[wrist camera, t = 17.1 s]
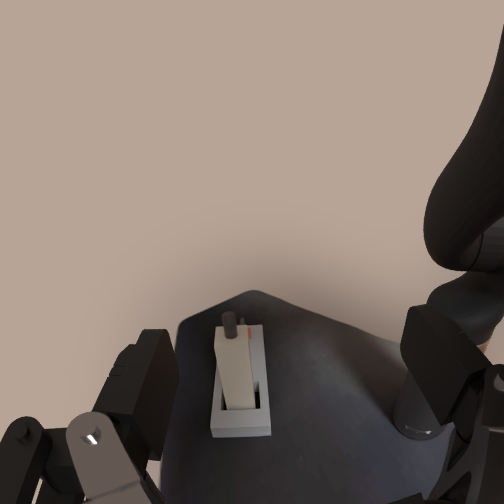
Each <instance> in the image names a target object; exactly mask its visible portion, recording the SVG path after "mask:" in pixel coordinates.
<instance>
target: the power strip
mask: <svg viewBox="0 0 504 504" xmlns="http://www.w3.org/2000/svg"><path fill="white" fill-rule="evenodd" d="M239 325H245V318H243V317H242V318H240V324H239ZM247 327H248V336H249V346H250V355H251V365H252V374H253V383H254V392H260V408H261V409H246V410H224V393H223V388H222V383H221V379H220V374H219V369H218V364H217V366H216V375H215V385H214V394H213V404H212V414H211V424H210V429H211V432H212V435H213V437H250V436H266V435H271V423H270V411H269V399H268V387H267V376H266V364H265V352H264V340H263V329H262V325H251V326H247Z"/></svg>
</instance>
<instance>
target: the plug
mask: <svg viewBox="0 0 504 504" xmlns="http://www.w3.org/2000/svg"><path fill="white" fill-rule="evenodd" d="M222 321H223V326H222V327H216V333H215V342H214V349H215V354H216V359H217V364H218V369H219V374H220V379H221V383H222V388H223V393H224V397H225V402H226V406H227V410H246V409H256V405H255V392H254V383H253V374H252V365H251V355H250V346H249V336H248V327H247V325H237V324H236V316H235V313H234V312H232V311H227V312H224V313H223V314H222Z"/></svg>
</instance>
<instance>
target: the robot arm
mask: <svg viewBox="0 0 504 504" xmlns="http://www.w3.org/2000/svg"><path fill="white" fill-rule="evenodd" d="M423 231H424V240H425V244H426V248H427V250H428V253H429V255H430V256H431V258H432V259H433V260H434V261H435V262H436V263H437V264H438V265H440V266H442V267H444V268H446V269H450V270H455V271H467V272H466V273H465V274H464V275H462V276H461V277H459V278H457V279H455V280H453V281H450V282H448V283H445V284H443V285H441V286H439V287H437V288H436V289H434V291H432V293H431V294H430V296H429V298H428V300H427V304H424V305H418V306H412V307H410V308H409V310H408V313H407V317H406V322H405V326H404V331H403V335H402V339H401V343H400V351H401V356H402V359H403V361H404V362H405V364H406V366H407V367H408V372H407V375H406V378H405V381H404V384H403V387H402V390H401V392H400V395H399V397H398V400H397V403H396V405H395V408H394V411H393V421H394V424H395V426H396V428H397V429H398V430H399V431H400V432H401V433H402V434H403V435H405V436H406V437H409V438H411V439H415V440H427V439H431V438H434V437H436V436H438V435H439V434H440V433H441V432H442V431H443V430H444V429H445V427H446V426H447V424H448V423H451V422H453V423H454V424H455V427H454V428H453V430H452V433H451V438H450V442H449V446H448V450H447V454H446V458H445V461H444V465H443V468H442V471H441V475H440V477H439V480H438V482H437V483H436V485H435V487H434V488H433V490H432V491H431V493H430V495H429V497H428V499H427V500H423V497H422V494H421V492H420V493H418V494H415V495H412V496H410V497H407V498H404V499H401V500H398V501H395V502H392V503H389V504H504V365H503V364H496V365H492V364H491V362H490V361H489V360H488V359H487V358H486V356H485V355H484V353H485V351H486V348H487V346H488V344H489V341H490V339H491V336H492V333H493V331H494V329H495V327H496V325H497V324H498V323H499V322H500V321H501V319H502V318H503V316H504V26H503V30H502V35H501V40H500V44H499V49H498V53H497V58H496V61H495V65H494V69H493V72H492V75H491V78H490V81H489V84H488V87H487V90H486V93H485V95H484V98H483V100H482V102H481V105H480V107H479V110H478V112H477V114H476V116H475V118H474V120H473V123H472V125H471V127H470V129H469V131H468V133H467V134H466V136H465V138H464V139H463V141H462V143H461V144H460V146H459V147H458V149H457V150H456V152H455V154H454V155H453V157H452V158H451V160H450V161H449V163H448V164H447V165H446V167H445V168H444V170H443V171H442V173H441V174H440V176H439V177H438V179H437V181H436V183H435V185H434V187H433V189H432V191H431V194H430V196H429V199H428V203H427V206H426V211H425V217H424V229H423ZM178 380H179V369H178V364H177V360H176V357H175V354H174V350H173V347H172V344H171V340H170V336H169V333H168V331H167V330H166V329H144V330H143V331H142V332H141V334H140V336H139V339H138V341H137V343H136V344H129V345H128V346H127V347H126V348H125V349H124V350H123V351H122V352H121V353H120V354H119V355H118V357H117V359H116V361H115V363H114V368H112V369H111V371H110V373H109V377H107V380H106V382H105V384H104V386H103V388H102V390H101V392H100V394H99V396H98V398H97V401H96V403H95V405H94V407H93V410H92V411H91V412H86V413H83V414H81V415H79V416H77V417H76V418H75V419H73V420H72V421H71V422H70V424H69V425H68V427H67V428H54V429H44V428H43V427H42V425H41V424H40V423H39V422H38V421H37V420H36V419H35V418H33V417H27V416H25V417H21V418H18V419H16V420H15V421H13V422H12V423H11V424H10V426H9V427H8V428H7V430H6V432H5V434H4V436H3V438H2V440H1V442H0V504H31V503H32V500H33V497H34V494H35V490H36V488H37V485H38V482H39V479H40V478H41V479H42V480H43V481H42V484H41V488H40V491H39V494H38V497H37V500H36V503H35V504H168V503H167V502H166V500H165V499H164V497H163V496H162V494H161V493H160V491H159V490H158V488H157V487H156V485H155V483H154V482H153V480H152V479H151V477H150V476H149V474H148V472H147V471H146V467H147V463H148V460H155V461H161V456H162V452H163V447H164V442H165V438H166V433H167V429H168V424H169V420H170V415H171V411H172V406H173V402H174V398H175V394H176V389H177V385H178ZM85 496H86V501H84V497H85Z"/></svg>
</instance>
